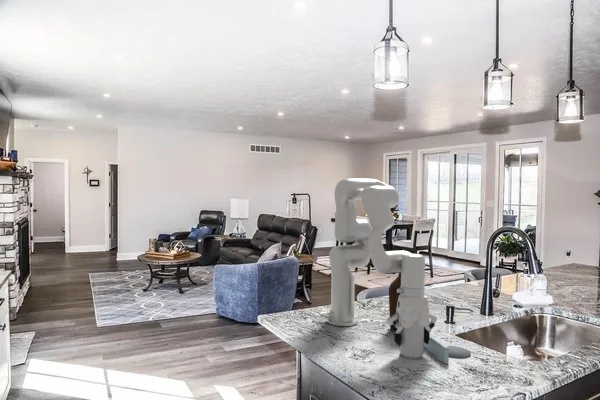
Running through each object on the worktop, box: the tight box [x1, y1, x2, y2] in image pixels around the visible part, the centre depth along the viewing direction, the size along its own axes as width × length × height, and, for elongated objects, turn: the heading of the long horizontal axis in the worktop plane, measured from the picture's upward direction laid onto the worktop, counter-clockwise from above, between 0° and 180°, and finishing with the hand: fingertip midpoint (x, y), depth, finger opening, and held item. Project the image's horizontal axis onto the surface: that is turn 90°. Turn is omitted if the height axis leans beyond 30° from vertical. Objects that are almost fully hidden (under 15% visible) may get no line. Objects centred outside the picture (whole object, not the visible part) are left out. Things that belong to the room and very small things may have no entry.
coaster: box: [446, 345, 472, 359], centre depth 141 cm, size 10×10×1 cm
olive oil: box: [388, 273, 401, 333], centre depth 163 cm, size 11×11×25 cm
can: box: [399, 322, 425, 360], centre depth 138 cm, size 8×8×12 cm
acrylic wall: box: [424, 334, 450, 364], centre depth 139 cm, size 1×16×5 cm, turn 11°
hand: (411, 343), depth 138 cm, fingers open, 9 cm apart
